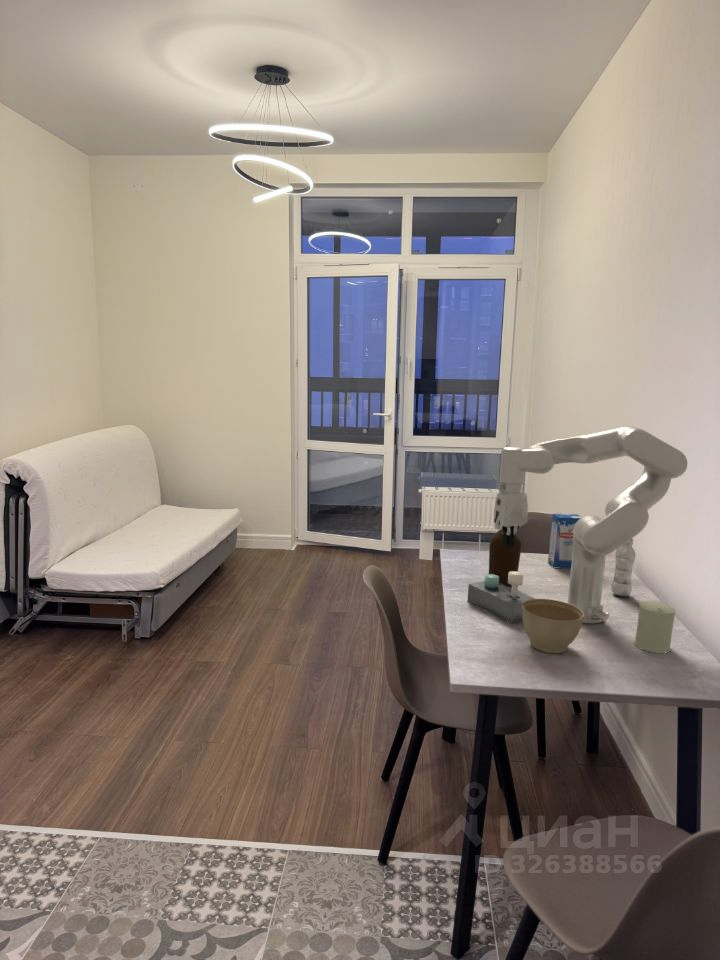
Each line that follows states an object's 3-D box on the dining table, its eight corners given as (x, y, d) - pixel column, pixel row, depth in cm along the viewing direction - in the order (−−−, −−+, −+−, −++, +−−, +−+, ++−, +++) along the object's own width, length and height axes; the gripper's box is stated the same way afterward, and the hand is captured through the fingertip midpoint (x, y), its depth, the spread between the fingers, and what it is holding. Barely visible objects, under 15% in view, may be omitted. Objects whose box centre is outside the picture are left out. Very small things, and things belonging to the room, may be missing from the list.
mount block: (535, 618, 196) (537, 599, 195) (512, 624, 191) (513, 604, 190) (490, 597, 212) (491, 579, 211) (467, 601, 207) (468, 583, 206)
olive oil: (493, 593, 216) (499, 521, 211) (481, 583, 226) (487, 513, 222) (522, 592, 218) (529, 521, 214) (509, 582, 228) (515, 513, 224)
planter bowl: (573, 665, 165) (577, 625, 164) (511, 649, 173) (515, 611, 171) (584, 643, 179) (589, 606, 177) (527, 629, 187) (530, 594, 185)
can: (639, 651, 176) (645, 610, 173) (630, 638, 185) (635, 598, 182) (675, 655, 174) (681, 613, 172) (664, 641, 183) (669, 601, 181)
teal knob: (499, 604, 205) (502, 577, 203) (489, 606, 203) (491, 579, 201) (490, 600, 209) (492, 573, 207) (479, 602, 206) (482, 575, 205)
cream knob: (523, 603, 196) (526, 574, 194) (513, 605, 194) (516, 576, 192) (513, 598, 200) (516, 570, 198) (503, 600, 197) (505, 572, 196)
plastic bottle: (615, 598, 217) (622, 541, 213) (607, 591, 223) (613, 535, 220) (634, 599, 217) (641, 541, 213) (625, 592, 223) (632, 536, 220)
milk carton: (572, 563, 254) (577, 514, 251) (578, 568, 248) (584, 518, 245) (547, 563, 254) (552, 513, 250) (553, 567, 247) (558, 517, 244)
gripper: (501, 492, 188) (497, 552, 191) (538, 488, 195) (535, 546, 198) (484, 487, 194) (481, 546, 197) (521, 484, 201) (518, 540, 205)
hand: (508, 546), depth 198 cm, fingers closed
